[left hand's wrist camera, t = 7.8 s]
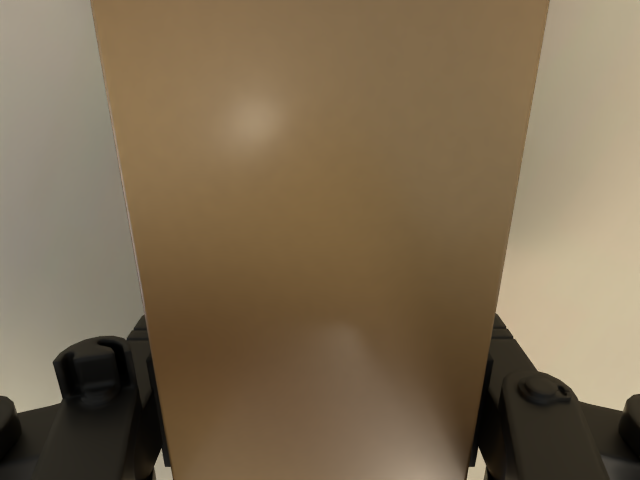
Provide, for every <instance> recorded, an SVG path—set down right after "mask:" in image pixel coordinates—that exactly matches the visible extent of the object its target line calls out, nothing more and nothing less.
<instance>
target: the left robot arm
mask: <svg viewBox="0 0 640 480" xmlns="http://www.w3.org/2000/svg"><path fill="white" fill-rule="evenodd" d="M53 365H54V369H55V372H56V376H57V380H58V383H59V387H60V390H61V394H62V398H63V399H62V402H61V403H59V404H55V405H52V406H48V407H43V408H39V409H34V410H30V411H25V412H21V413H17V411H16V408H15V405H14V402H13V401H11V400H10V399H9V398H8V397H5V396H0V480H156V475H155V470H154V465H155V462H156V460H157V458H158V455H159V453H160V450H161V448H162V453H163V458H164V464H165V467H171V464H170V458H169V453H168V447H167V441H166V435H165V430H164V424H163V418H162V412H161V406H160V401H159V395H158V389H157V383H156V378H155V372H154V366H153V360H152V354H151V349H150V343H149V337H148V331H147V326H146V320H145V314H144V315H143V316H142V317H141V319H140V320H139V321H138V323H137V324H136V326H135V327H134V330H132V331H131V333H130V334H129V336H128V337H127V341H126V340H125V339H124V338H120V337H116V336H99V337H95V338H90V339H86V340H83V341H81V342H78V343H76V344H74V345H71V346H70V347H68V348H67V349H65V350H64V351H62V352H61V353H60V354H59V355H58V356H57V357H56V359H55V360H54V361H53ZM478 446H479V449H480V451H481V454H482V456H483V459H484V461H485V463H486V470H485V475H484V480H640V394H636V395H633V396H631V397H630V398H629V399H628V400H627V401H626V404H625V407H624V410H623V411H619V410H614V409H609V408H605V407H600V406H596V405H591V404H587V403H584V402H580V401H578V398H577V397H576V395H575V394H574V392H573V391H572V389H571V388H570V387H568V386H567V385H566V384H564V383H563V382H562V381H561V380H559V379H557V378H555V377H553V376H551V375H549V374H546V373H542V372H538V371H537V369H536V368H535V367H534V365H533V364H532V362H531V361H530V360H529V358H528V357H527V355H526V354H525V353H524V351H523V350H522V348H521V347H520V345H519V344H518V343H517V341H516V340H515V339H513V336H512V334H511V333H510V331H509V330H508V329H506V326H505V324H504V323H503V321H502V320H501V319H500V317H499V316H498V315H497V314H496V313H495V318H494V324H493V329H492V335H491V341H490V347H489V352H488V358H487V364H486V370H485V375H484V381H483V387H482V393H481V399H480V404H479V410H478V416H477V422H476V427H475V433H474V439H473V445H472V450H471V456H470V462H469V467H475V462H476V457H477V451H478Z"/></svg>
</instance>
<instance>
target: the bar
mask: <svg viewBox="0 0 640 480" xmlns="http://www.w3.org/2000/svg"><path fill="white" fill-rule="evenodd" d="M549 1H550V0H90V2H91V8H92V13H93V19H94V25H95V31H96V37H97V42H98V48H99V54H100V60H101V65H102V71H103V77H104V83H105V89H106V94H107V100H108V106H109V112H110V117H111V123H112V129H113V135H114V141H115V146H116V152H117V158H118V164H119V169H120V175H121V181H122V187H123V193H124V198H125V204H126V210H127V216H128V221H129V227H130V233H131V239H132V245H133V250H134V256H135V262H136V268H137V274H138V279H139V285H140V291H141V297H142V302H143V308H144V314H145V320H146V326H147V331H148V337H149V343H150V349H151V354H152V360H153V366H154V372H155V378H156V383H157V389H158V395H159V401H160V406H161V412H162V418H163V424H164V430H165V435H166V441H167V447H168V453H169V458H170V464H171V470H172V476H173V480H466V479H467V473H468V468H469V462H470V456H471V450H472V445H473V439H474V433H475V427H476V422H477V416H478V410H479V404H480V399H481V393H482V387H483V381H484V375H485V370H486V364H487V358H488V352H489V347H490V341H491V335H492V329H493V324H494V318H495V312H496V306H497V301H498V295H499V289H500V283H501V278H502V272H503V266H504V260H505V255H506V249H507V243H508V237H509V231H510V226H511V220H512V214H513V208H514V203H515V197H516V191H517V185H518V180H519V174H520V168H521V162H522V157H523V151H524V145H525V139H526V134H527V128H528V122H529V116H530V111H531V105H532V99H533V93H534V87H535V82H536V76H537V70H538V64H539V59H540V53H541V47H542V41H543V36H544V30H545V24H546V18H547V13H548V7H549Z"/></svg>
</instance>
